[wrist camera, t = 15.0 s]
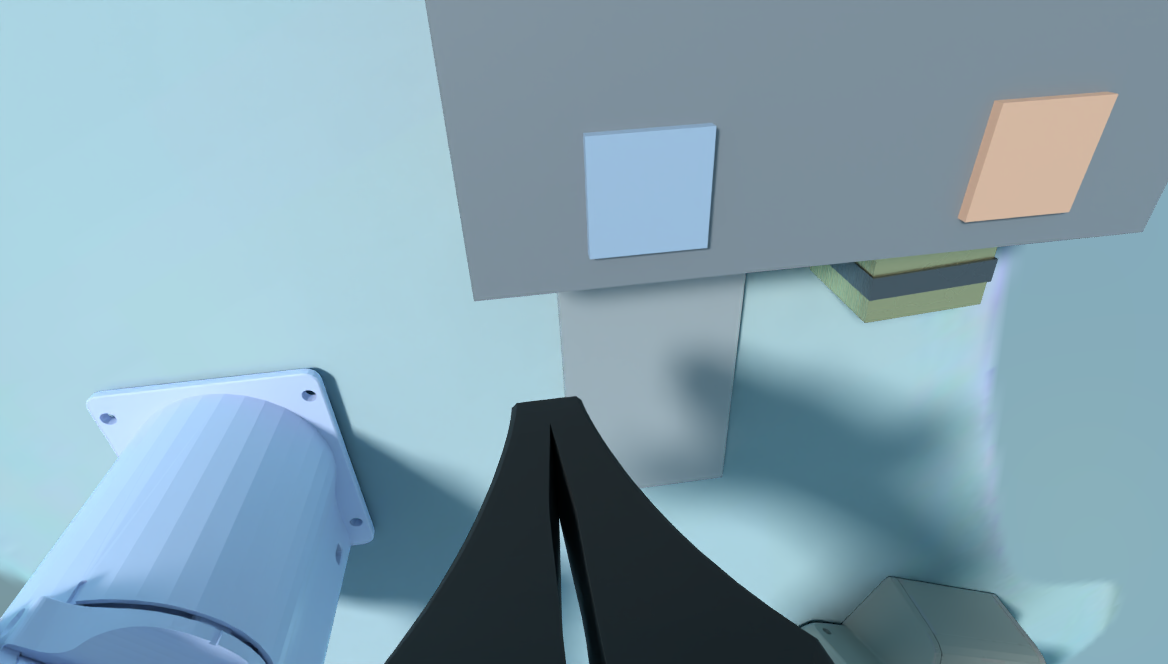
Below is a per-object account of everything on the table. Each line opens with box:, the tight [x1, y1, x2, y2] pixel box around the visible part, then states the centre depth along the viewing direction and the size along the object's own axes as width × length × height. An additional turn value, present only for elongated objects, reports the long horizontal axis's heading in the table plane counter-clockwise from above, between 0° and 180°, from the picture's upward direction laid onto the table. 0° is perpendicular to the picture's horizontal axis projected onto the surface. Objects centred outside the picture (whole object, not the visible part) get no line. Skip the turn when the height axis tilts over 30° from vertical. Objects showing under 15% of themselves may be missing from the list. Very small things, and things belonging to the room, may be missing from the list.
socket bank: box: [425, 0, 1168, 301], centre depth 16 cm, size 8×19×6 cm, turn 92°
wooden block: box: [810, 247, 998, 323], centre depth 19 cm, size 9×4×4 cm, turn 6°
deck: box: [557, 273, 746, 488], centre depth 25 cm, size 11×7×1 cm, turn 2°
